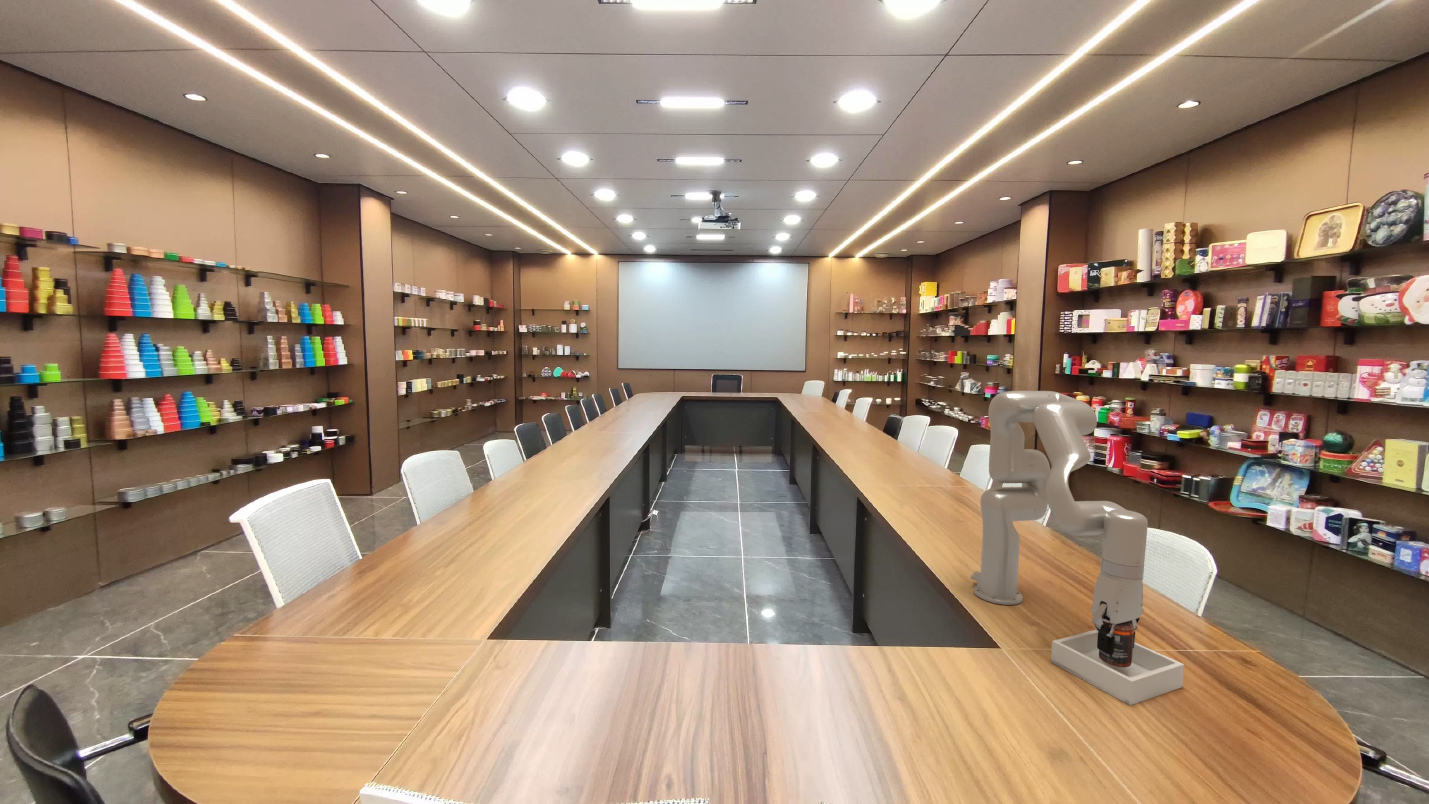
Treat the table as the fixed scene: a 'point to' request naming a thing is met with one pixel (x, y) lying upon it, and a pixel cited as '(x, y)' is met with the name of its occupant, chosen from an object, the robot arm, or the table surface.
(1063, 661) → the tray
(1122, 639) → the supplement bottle
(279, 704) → the table surface
